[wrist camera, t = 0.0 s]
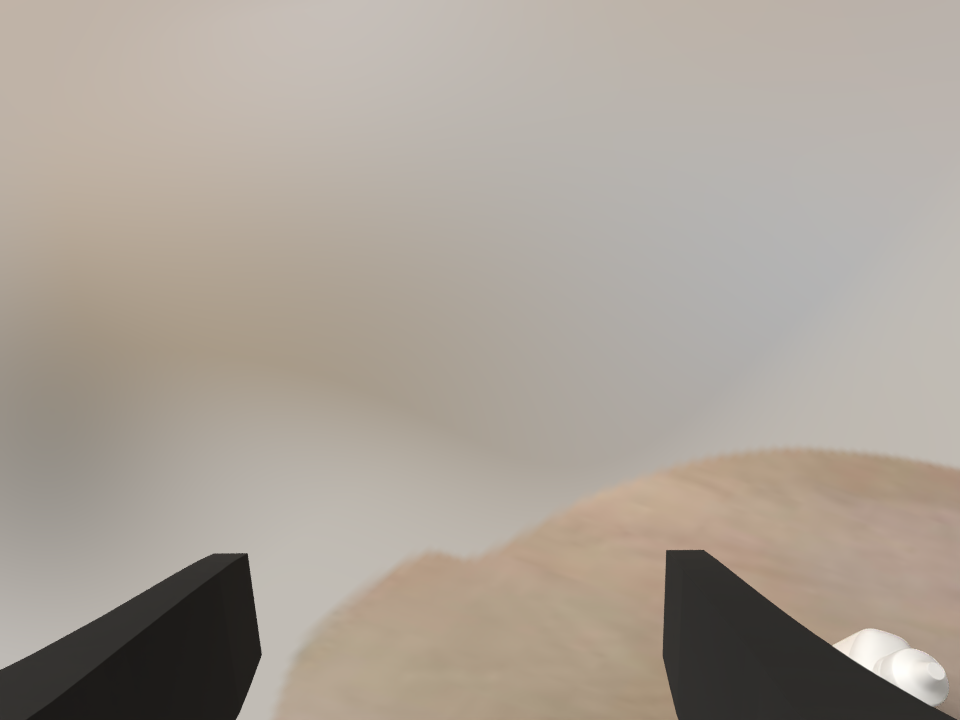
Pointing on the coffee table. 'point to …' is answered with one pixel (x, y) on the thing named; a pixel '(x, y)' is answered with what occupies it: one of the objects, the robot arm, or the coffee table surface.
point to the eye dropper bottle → (898, 664)
